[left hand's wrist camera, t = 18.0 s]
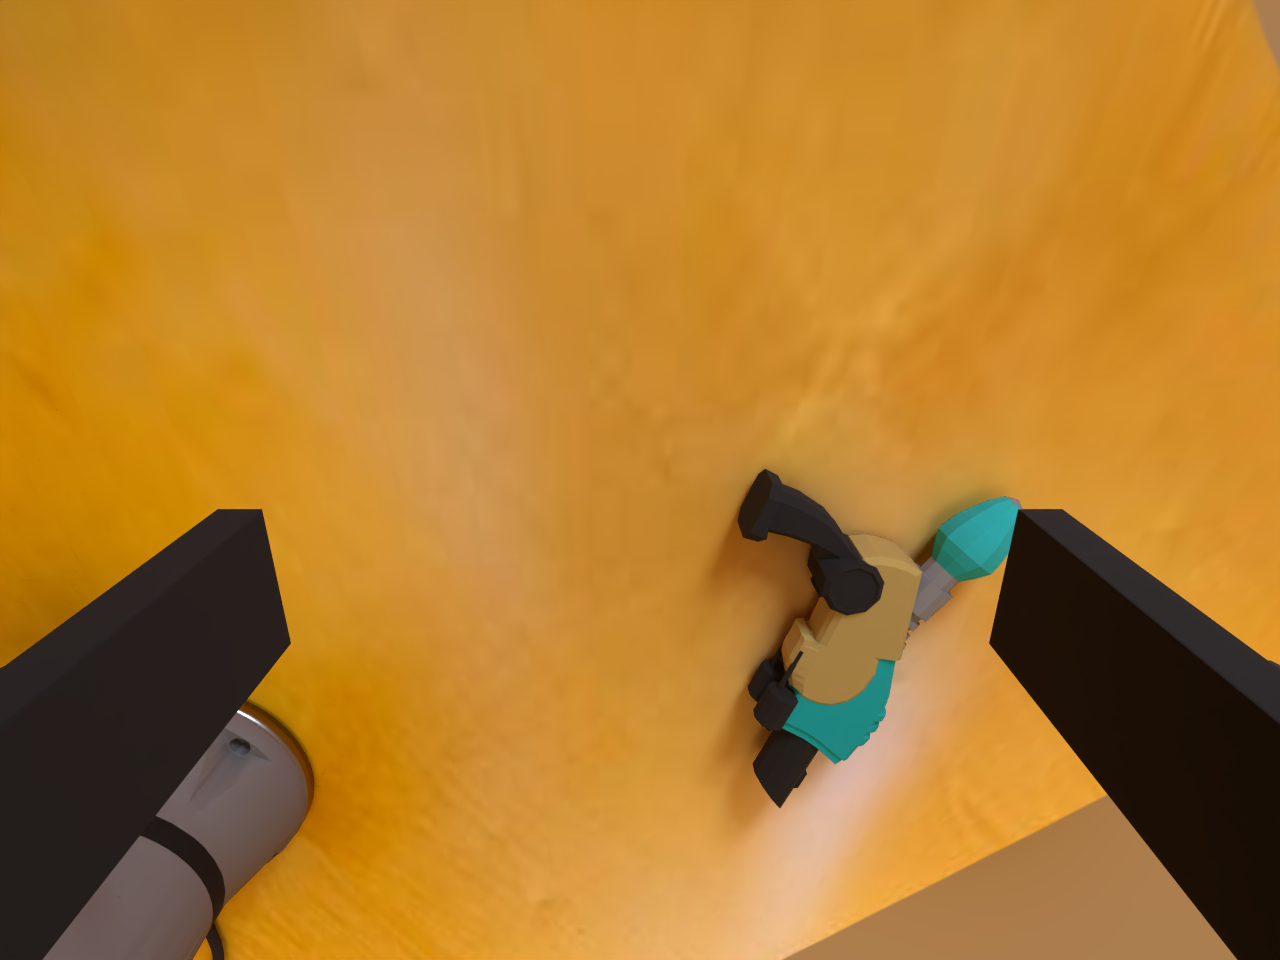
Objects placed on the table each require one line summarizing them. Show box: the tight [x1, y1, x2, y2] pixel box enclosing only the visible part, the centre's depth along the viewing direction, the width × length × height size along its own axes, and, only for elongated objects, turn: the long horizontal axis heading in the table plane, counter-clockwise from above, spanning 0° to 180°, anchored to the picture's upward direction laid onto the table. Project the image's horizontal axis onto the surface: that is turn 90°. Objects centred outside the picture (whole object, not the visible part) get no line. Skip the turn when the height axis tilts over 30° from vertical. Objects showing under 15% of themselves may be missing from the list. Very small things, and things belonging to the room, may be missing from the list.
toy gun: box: [738, 469, 1022, 808], centre depth 44 cm, size 4×26×15 cm
